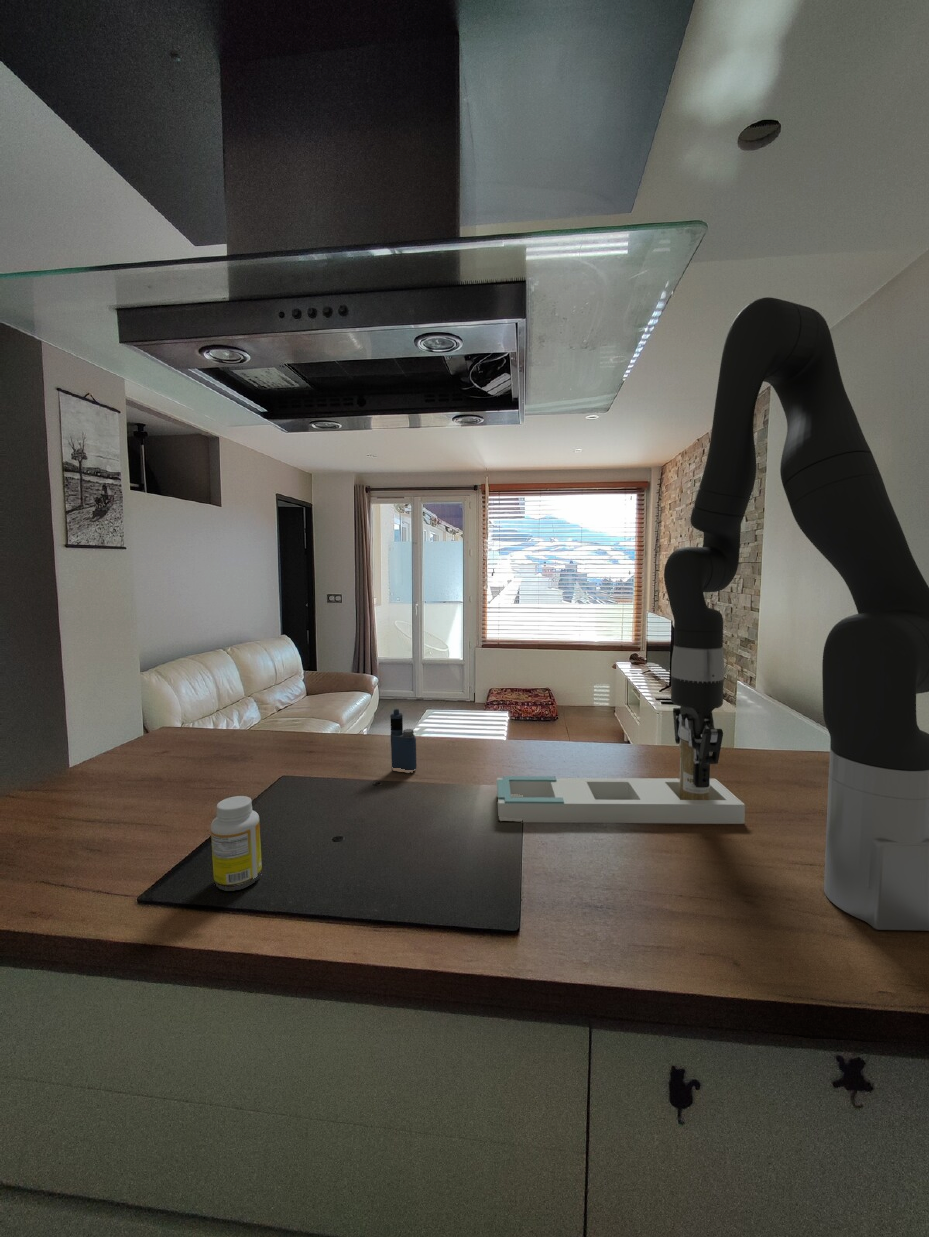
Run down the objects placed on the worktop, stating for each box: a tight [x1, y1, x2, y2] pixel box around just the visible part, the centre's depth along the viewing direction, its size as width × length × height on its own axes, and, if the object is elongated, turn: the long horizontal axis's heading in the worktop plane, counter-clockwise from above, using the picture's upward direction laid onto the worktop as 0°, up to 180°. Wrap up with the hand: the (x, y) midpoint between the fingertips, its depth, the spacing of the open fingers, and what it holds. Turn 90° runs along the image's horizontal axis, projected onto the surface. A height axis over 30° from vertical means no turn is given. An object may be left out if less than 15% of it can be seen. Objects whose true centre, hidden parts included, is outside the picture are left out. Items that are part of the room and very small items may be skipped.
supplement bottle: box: [210, 795, 263, 887], centre depth 64 cm, size 6×6×10 cm
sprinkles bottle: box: [679, 725, 710, 800], centre depth 82 cm, size 5×5×13 cm
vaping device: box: [389, 708, 418, 770], centre depth 100 cm, size 3×5×12 cm, turn 67°
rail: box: [496, 775, 746, 825], centre depth 83 cm, size 10×37×3 cm, turn 88°
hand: (694, 779), depth 82 cm, fingers open, 4 cm apart
